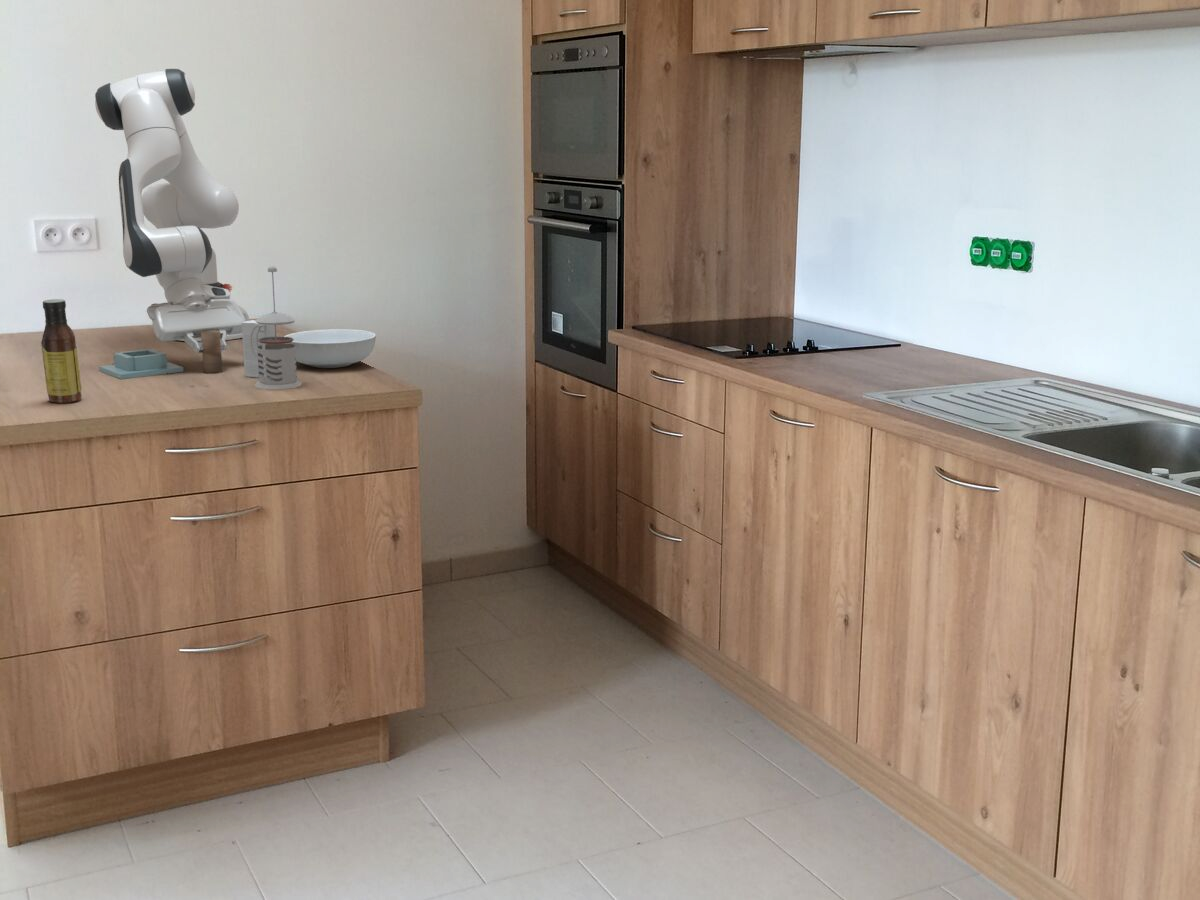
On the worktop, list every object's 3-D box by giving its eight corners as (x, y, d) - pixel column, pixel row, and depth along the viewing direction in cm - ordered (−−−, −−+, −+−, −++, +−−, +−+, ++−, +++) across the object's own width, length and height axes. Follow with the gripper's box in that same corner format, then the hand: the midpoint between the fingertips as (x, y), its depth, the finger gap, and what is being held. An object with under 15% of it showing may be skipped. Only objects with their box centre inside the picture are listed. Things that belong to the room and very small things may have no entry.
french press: (277, 391, 253) (271, 269, 247) (238, 384, 259) (231, 265, 252) (311, 383, 261) (306, 265, 255) (273, 377, 267) (267, 262, 261)
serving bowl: (333, 353, 297) (332, 325, 295) (395, 363, 285) (394, 334, 283) (264, 365, 280) (263, 336, 279) (328, 376, 269) (326, 345, 267)
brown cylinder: (217, 369, 275) (214, 329, 273) (225, 372, 272) (223, 331, 270) (200, 371, 272) (197, 331, 270) (208, 374, 269) (205, 333, 267)
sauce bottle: (63, 396, 244) (53, 297, 240) (89, 398, 243) (80, 298, 238) (39, 403, 238) (29, 301, 233) (66, 405, 237) (56, 302, 232)
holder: (160, 363, 280) (159, 346, 279) (183, 371, 272) (182, 353, 271) (99, 370, 271) (97, 353, 270) (120, 379, 262) (119, 360, 261)
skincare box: (278, 375, 269) (276, 321, 266) (267, 378, 265) (264, 323, 262) (255, 373, 271) (252, 319, 268) (243, 376, 267) (240, 322, 264)
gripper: (147, 295, 266) (169, 346, 262) (235, 289, 280) (257, 336, 275) (140, 313, 271) (162, 363, 266) (227, 306, 284) (249, 353, 279)
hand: (211, 350), depth 271 cm, fingers closed on brown cylinder, 4 cm apart
